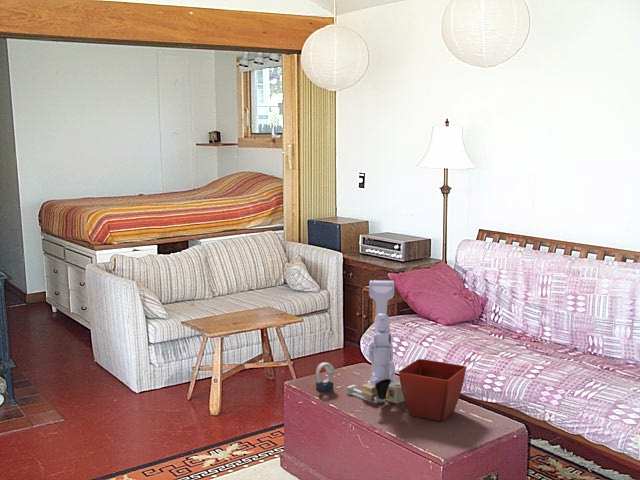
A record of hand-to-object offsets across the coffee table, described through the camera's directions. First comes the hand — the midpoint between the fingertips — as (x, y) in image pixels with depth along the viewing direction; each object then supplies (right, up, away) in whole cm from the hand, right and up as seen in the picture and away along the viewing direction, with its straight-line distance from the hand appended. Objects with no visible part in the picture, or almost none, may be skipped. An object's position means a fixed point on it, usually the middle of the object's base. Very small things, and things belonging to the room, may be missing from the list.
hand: (381, 398), depth 275 cm
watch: (-21, 0, +17) cm, 27 cm away
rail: (-6, -1, +8) cm, 10 cm away
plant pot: (+18, -4, -8) cm, 20 cm away
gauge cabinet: (+6, -2, +6) cm, 9 cm away
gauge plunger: (+4, 0, +3) cm, 5 cm away
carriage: (-4, -1, +6) cm, 7 cm away
